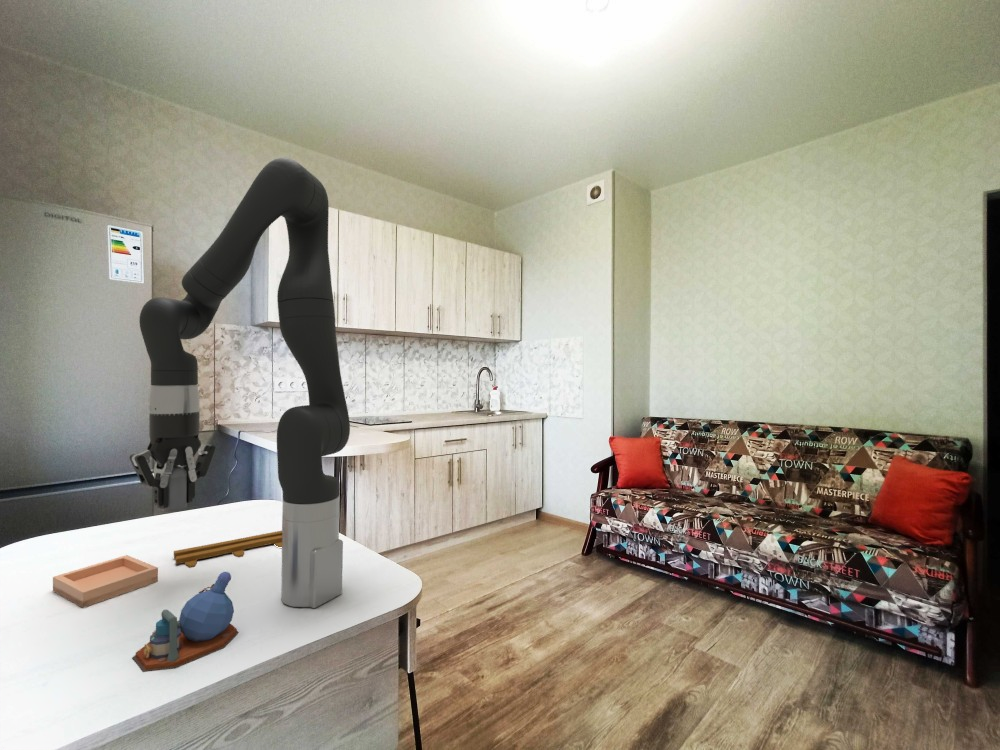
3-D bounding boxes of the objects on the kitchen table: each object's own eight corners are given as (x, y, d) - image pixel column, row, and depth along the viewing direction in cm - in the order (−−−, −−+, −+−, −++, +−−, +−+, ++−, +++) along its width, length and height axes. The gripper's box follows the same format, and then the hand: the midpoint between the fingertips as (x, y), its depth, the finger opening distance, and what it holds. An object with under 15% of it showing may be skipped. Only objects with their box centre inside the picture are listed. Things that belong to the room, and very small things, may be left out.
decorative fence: (172, 556, 99) (177, 573, 92) (172, 547, 99) (177, 563, 92) (298, 531, 115) (311, 544, 107) (298, 523, 115) (311, 536, 107)
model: (219, 617, 76) (220, 559, 75) (246, 639, 70) (247, 577, 70) (126, 653, 66) (126, 587, 66) (149, 681, 60) (149, 609, 60)
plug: (191, 507, 87) (190, 465, 87) (169, 513, 84) (169, 469, 84) (179, 505, 89) (179, 463, 89) (158, 510, 86) (158, 466, 86)
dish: (157, 581, 87) (158, 567, 87) (83, 607, 77) (83, 592, 77) (126, 567, 92) (126, 555, 92) (52, 591, 82) (52, 576, 82)
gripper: (141, 414, 78) (142, 519, 78) (225, 408, 91) (225, 498, 91) (118, 412, 82) (118, 512, 82) (202, 406, 94) (202, 493, 94)
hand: (175, 504), depth 86 cm, fingers closed on plug, 3 cm apart
